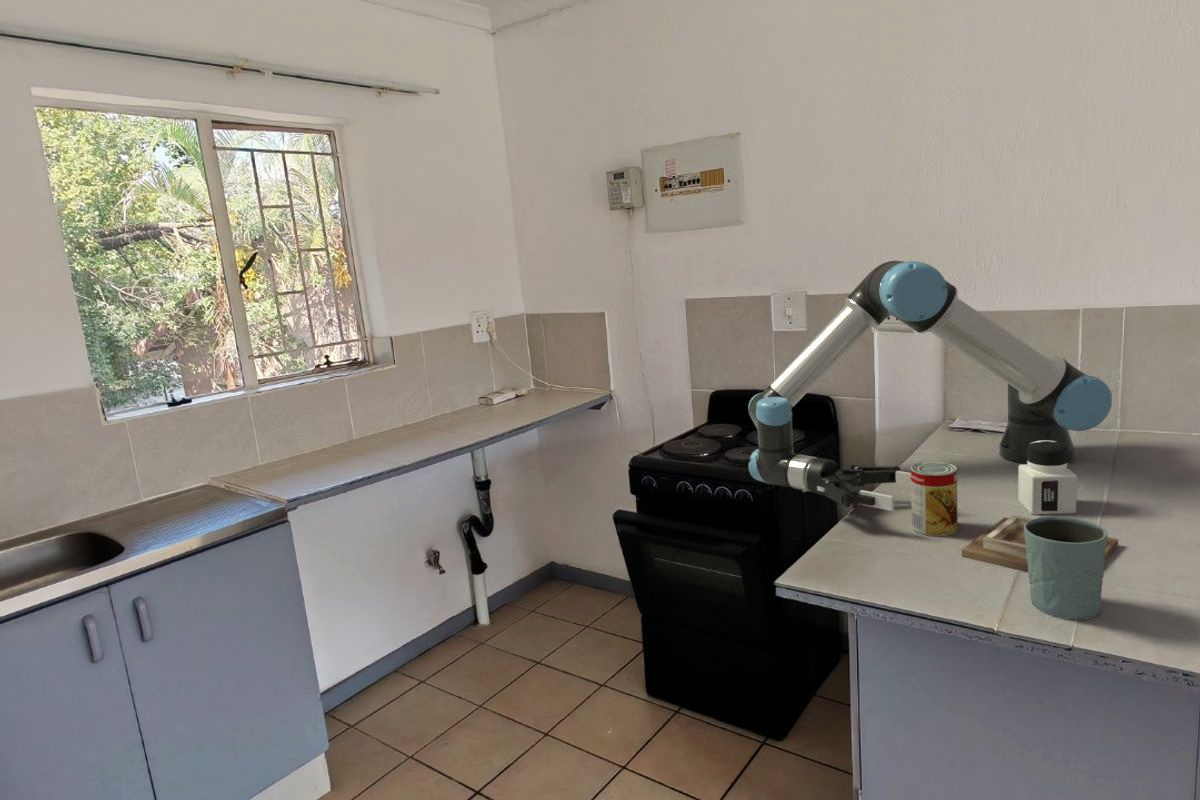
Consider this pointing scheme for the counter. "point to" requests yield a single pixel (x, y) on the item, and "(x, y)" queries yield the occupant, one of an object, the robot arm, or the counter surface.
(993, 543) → the collar board
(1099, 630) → the counter surface
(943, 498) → the canned food
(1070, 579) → the green plant pot
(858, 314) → the robot arm
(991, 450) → the counter surface
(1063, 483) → the container
